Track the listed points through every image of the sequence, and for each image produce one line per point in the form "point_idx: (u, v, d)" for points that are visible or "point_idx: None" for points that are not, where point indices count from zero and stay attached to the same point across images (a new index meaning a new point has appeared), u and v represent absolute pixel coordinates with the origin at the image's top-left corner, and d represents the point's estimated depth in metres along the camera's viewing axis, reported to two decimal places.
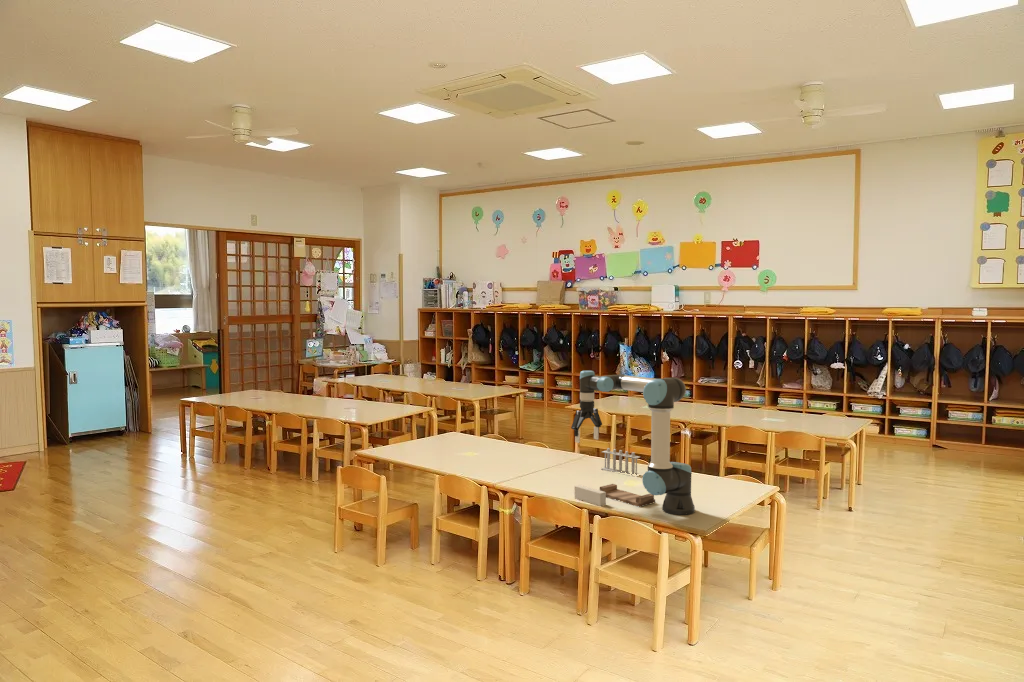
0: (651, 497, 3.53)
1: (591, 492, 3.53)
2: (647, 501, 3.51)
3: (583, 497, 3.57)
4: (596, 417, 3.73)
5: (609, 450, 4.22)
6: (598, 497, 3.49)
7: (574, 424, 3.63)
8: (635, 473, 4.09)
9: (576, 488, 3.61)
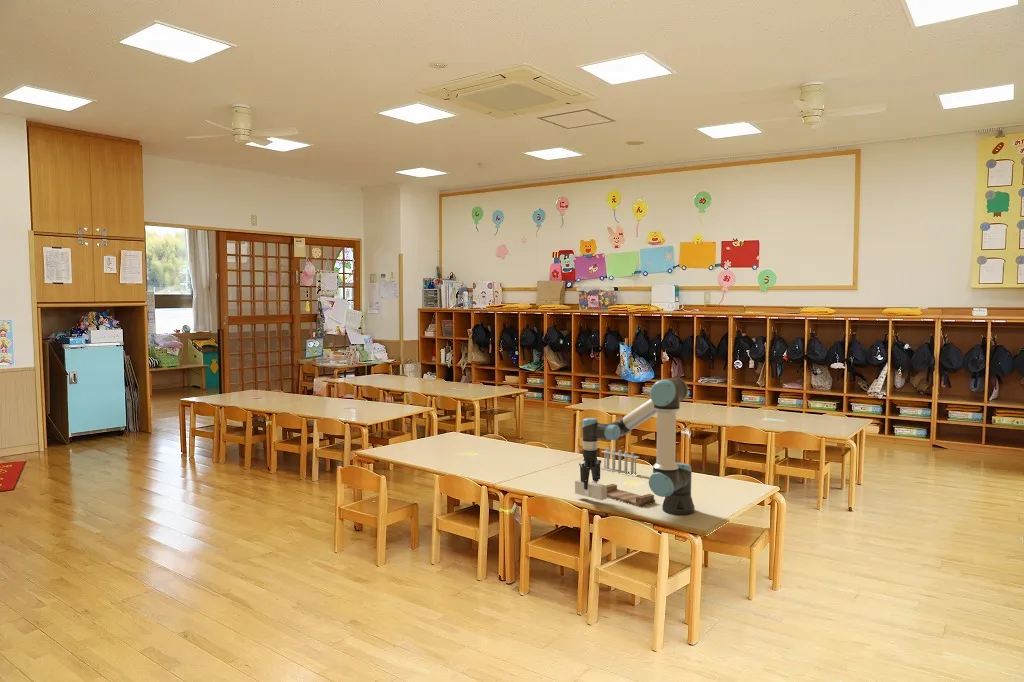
0: (651, 497, 3.53)
1: (592, 486, 3.52)
2: (647, 501, 3.51)
3: (584, 492, 3.57)
4: (596, 469, 3.59)
5: (608, 450, 4.22)
6: (600, 490, 3.49)
7: (582, 478, 3.52)
8: (634, 473, 4.09)
9: (576, 483, 3.60)
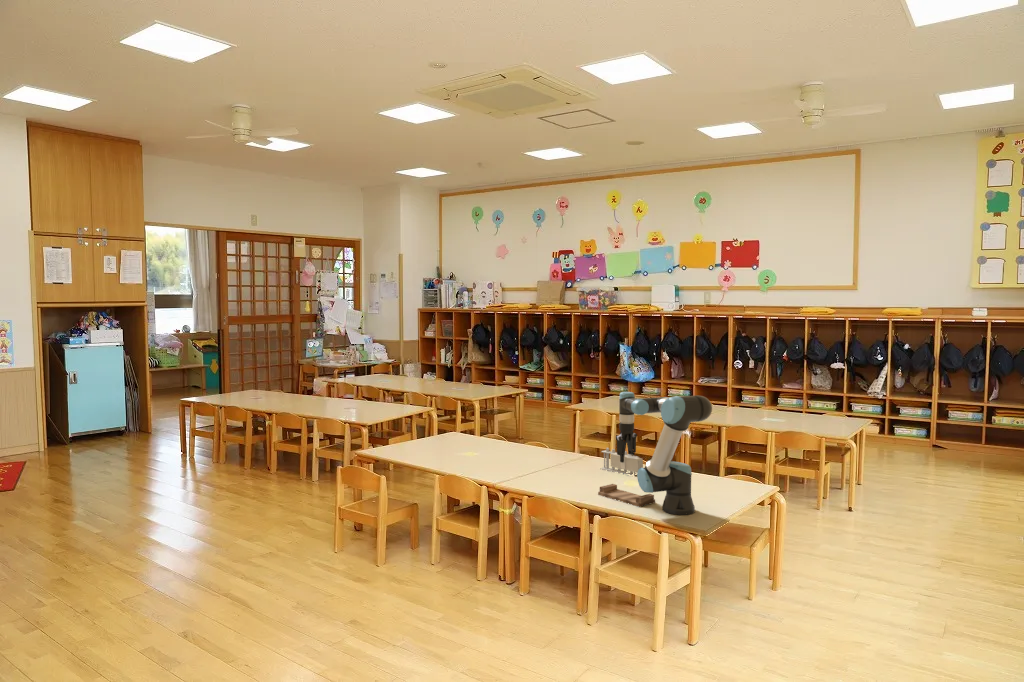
0: (651, 497, 3.53)
1: (628, 459, 3.57)
2: (647, 501, 3.51)
3: (620, 465, 3.61)
4: (632, 442, 3.63)
5: (608, 450, 4.23)
6: (636, 463, 3.53)
7: (619, 450, 3.56)
8: None
9: (612, 456, 3.65)
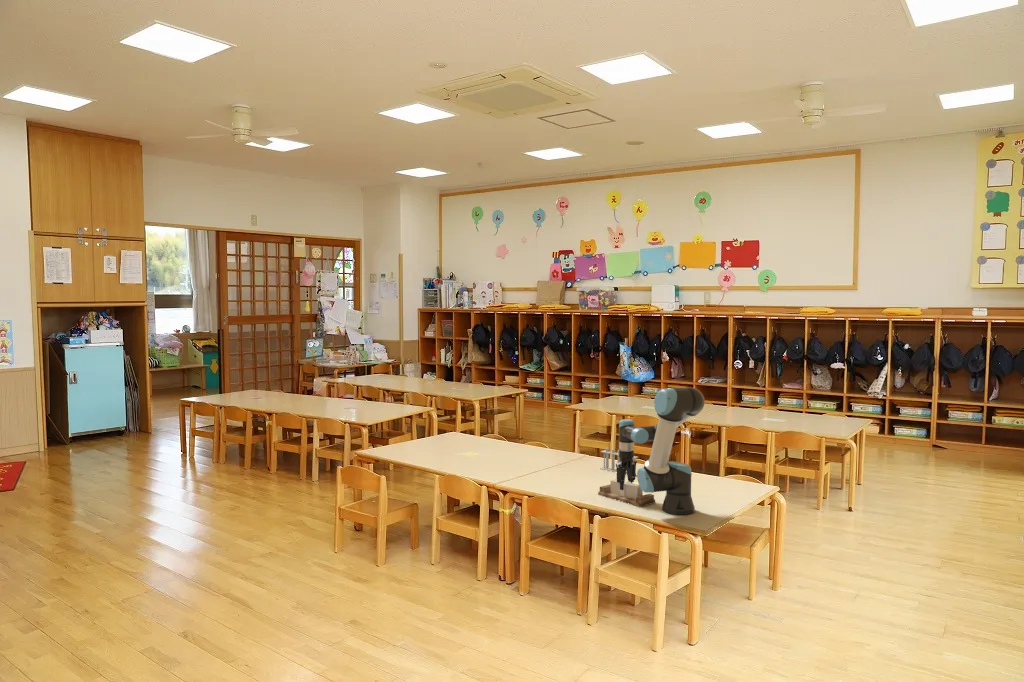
0: (651, 497, 3.53)
1: (628, 486, 3.58)
2: (647, 501, 3.51)
3: (619, 491, 3.62)
4: (632, 470, 3.64)
5: (608, 450, 4.23)
6: (635, 490, 3.54)
7: (618, 478, 3.57)
8: None
9: (612, 482, 3.66)
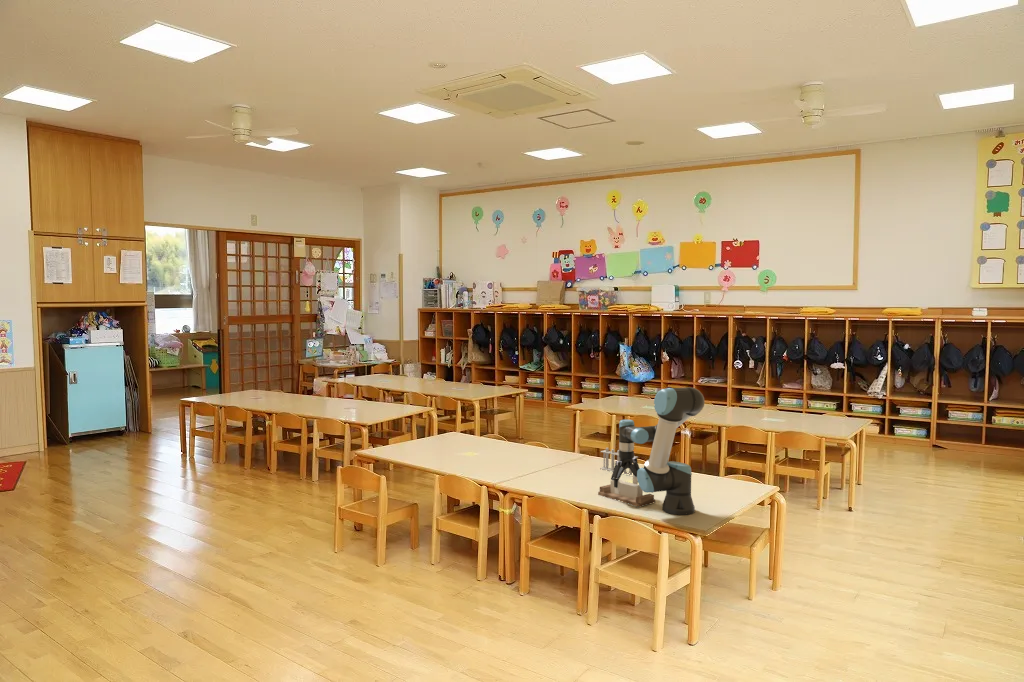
0: (651, 497, 3.53)
1: (628, 486, 3.58)
2: (647, 501, 3.51)
3: None
4: (635, 467, 3.65)
5: (608, 450, 4.23)
6: (635, 490, 3.54)
7: (614, 475, 3.55)
8: None
9: (612, 482, 3.66)
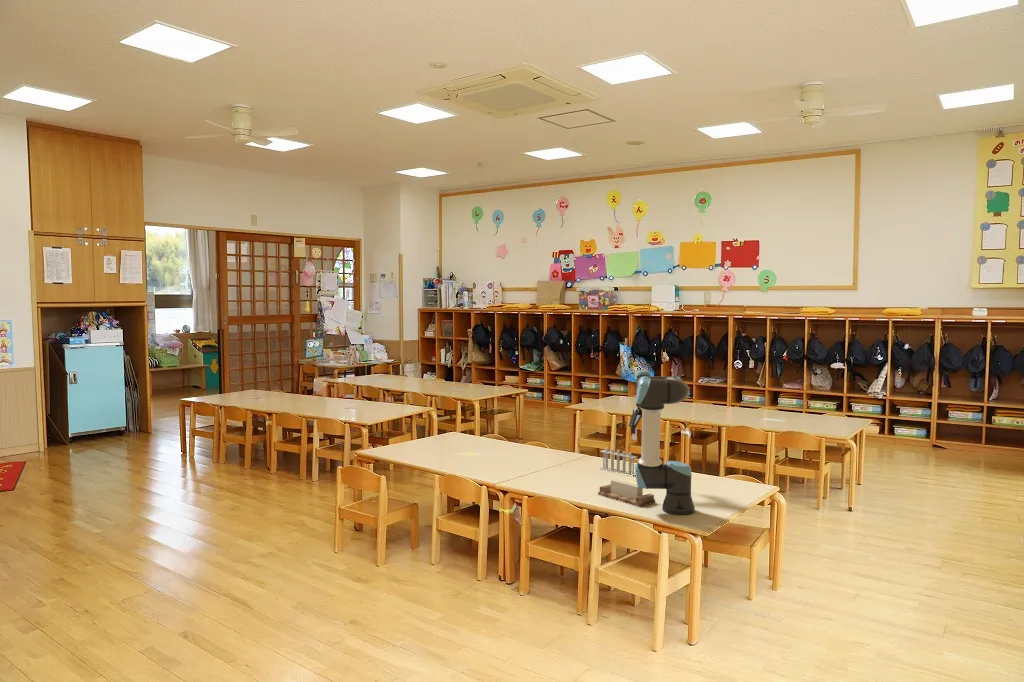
0: (651, 497, 3.53)
1: (628, 486, 3.58)
2: (647, 501, 3.51)
3: (619, 491, 3.62)
4: None
5: (607, 450, 4.23)
6: (635, 490, 3.54)
7: (632, 422, 3.76)
8: (632, 473, 4.09)
9: (612, 482, 3.66)
